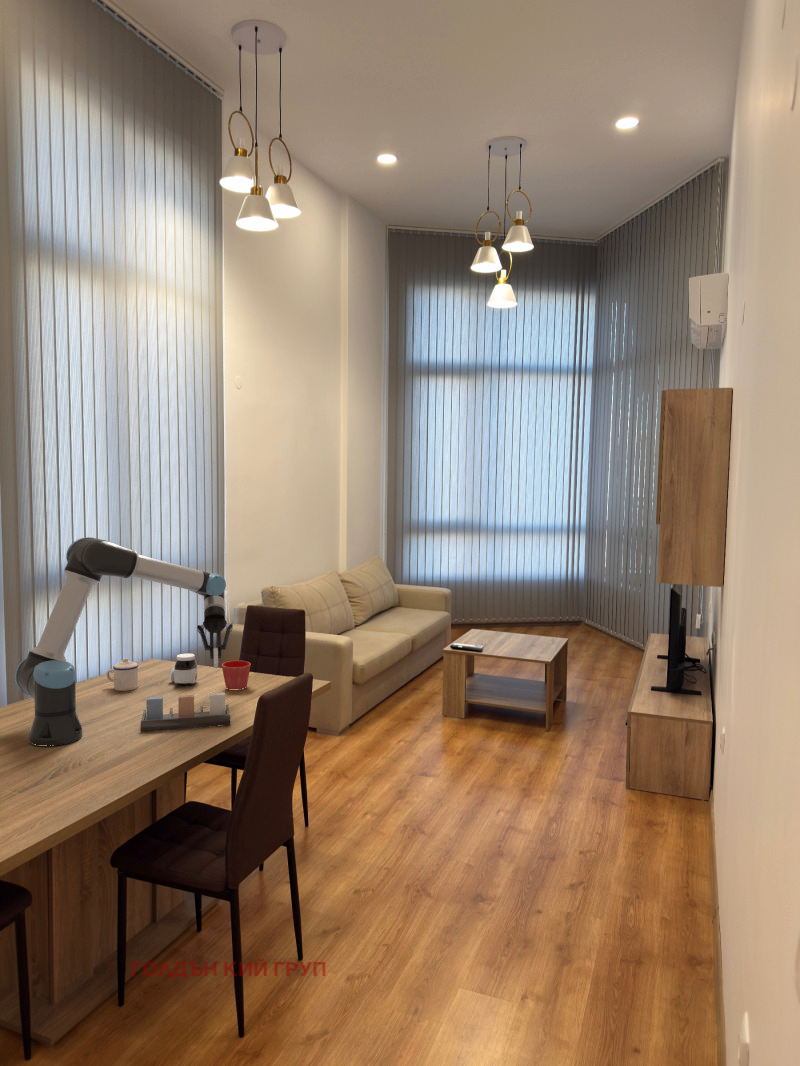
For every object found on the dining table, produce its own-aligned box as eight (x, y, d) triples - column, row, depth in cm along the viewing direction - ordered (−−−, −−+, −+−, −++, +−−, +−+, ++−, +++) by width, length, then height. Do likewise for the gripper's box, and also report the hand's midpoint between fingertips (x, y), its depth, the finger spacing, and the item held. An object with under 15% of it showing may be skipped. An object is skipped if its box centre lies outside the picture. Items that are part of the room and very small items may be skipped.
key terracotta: (178, 716, 251) (178, 695, 250) (194, 715, 252) (194, 694, 252) (178, 719, 248) (178, 697, 248) (194, 717, 250) (194, 696, 249)
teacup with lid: (142, 685, 294) (141, 655, 294) (133, 691, 285) (132, 661, 284) (111, 684, 295) (111, 655, 294) (102, 691, 286) (101, 660, 285)
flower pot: (244, 692, 286) (244, 667, 285) (217, 691, 287) (217, 666, 287) (254, 685, 296) (254, 661, 295) (228, 683, 298) (228, 659, 297)
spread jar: (191, 688, 291) (190, 658, 290) (162, 687, 292) (162, 658, 291) (201, 680, 303) (201, 651, 302) (173, 679, 304) (173, 650, 303)
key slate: (147, 718, 248) (146, 697, 248) (163, 717, 249) (162, 696, 249) (146, 721, 246) (146, 699, 245) (162, 720, 247) (162, 698, 246)
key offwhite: (209, 714, 253) (209, 693, 253) (224, 713, 255) (224, 692, 254) (209, 716, 251) (209, 695, 250) (225, 715, 252) (224, 694, 252)
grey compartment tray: (143, 720, 252) (143, 710, 252) (228, 714, 260) (228, 704, 259) (140, 731, 241) (140, 721, 240) (230, 725, 248) (230, 715, 248)
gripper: (232, 615, 283) (234, 670, 269) (196, 617, 280) (196, 672, 265) (232, 604, 278) (235, 659, 263) (196, 605, 274) (196, 661, 260)
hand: (216, 665), depth 264 cm, fingers closed
